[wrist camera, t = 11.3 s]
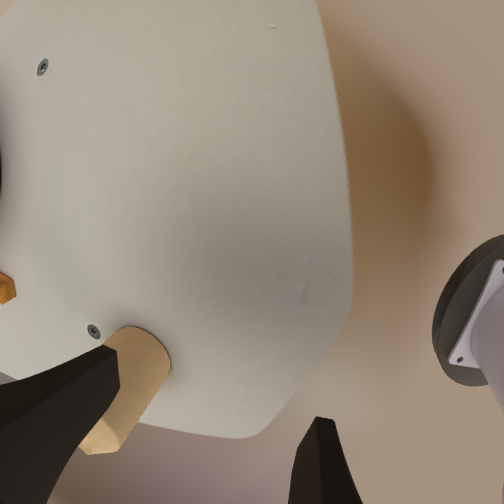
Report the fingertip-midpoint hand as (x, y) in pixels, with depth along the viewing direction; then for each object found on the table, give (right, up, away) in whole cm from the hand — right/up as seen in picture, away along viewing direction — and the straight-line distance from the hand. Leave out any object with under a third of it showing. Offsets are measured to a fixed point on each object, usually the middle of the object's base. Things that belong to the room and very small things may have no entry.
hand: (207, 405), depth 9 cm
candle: (-7, -3, +14) cm, 16 cm away
